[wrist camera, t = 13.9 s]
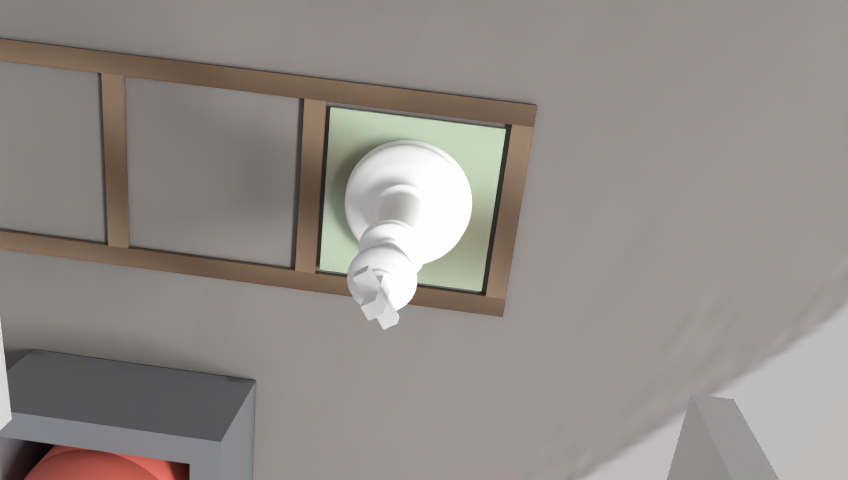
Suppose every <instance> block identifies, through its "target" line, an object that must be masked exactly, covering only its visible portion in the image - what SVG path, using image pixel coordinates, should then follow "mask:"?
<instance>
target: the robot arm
mask: <svg viewBox="0 0 848 480" xmlns="http://www.w3.org/2000/svg"><path fill="white" fill-rule="evenodd" d="M11 420H12V417H11V408H10V399H9V391H8V382H7V373H6V365H5V356H4V347H3V339H2V330H1V321H0V430H1V429H2V428H3V427H4V426H5V425H6V424H7V423H8V422H10V421H11ZM667 480H779V479H778V477H777V475H776V473H775V472H774V470H773V468H772V466H771V465H770V463H769V461H768V460H767V458H766V456H765V454H764V452H763V451H762V449H761V447H760V445H759V443H758V442H757V440H756V438H755V436H754V435H753V433H752V431H751V429H750V428H749V426H748V424H747V422H746V421H745V419H744V417H743V415H742V413H741V412H740V410H739V408H738V406H737V405H736V403H735V401H734V400H733V399H726V398H719V397H712V396H705V395H697V394H691V397H690V401H689V404H688V408H687V411H686V415H685V418H684V422H683V426H682V429H681V432H680V436H679V440H678V443H677V446H676V450H675V454H674V457H673V460H672V464H671V468H670V471H669V475H668V478H667Z"/></svg>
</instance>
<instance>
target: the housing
mask: <svg viewBox="0 0 848 480" xmlns="http://www.w3.org/2000/svg"><path fill="white" fill-rule="evenodd" d="M6 373H7V382H8V391H9V399H10V408H11V417H12V420H11V421H10V422H8V423H7V424H6V425H5V426H4V427H3V428H2V429H1V430H0V480H24V479H25V478H26V476H27V475H28V474H29V472H30V471H31V470H32V469H33V468H34V467H35V466H36V465H37V463H38V462H39V461H40V460H41V459H42V458H43V457H44V456H45V455H46V454H47V453H48V452H49V451H50V449H51V448H52V447H53V446H54V445H55V444H56V445H63V446H70V447H77V448H83V449H90V450H97V451H104V452H111V453H118V454H125V455H132V456H139V457H146V458H153V459H159V460H166V461H173V462H180V463H187V464H190V480H252V477H253V450H254V423H255V395H256V381H255V380H248V379H241V378H234V377H227V376H219V375H212V374H205V373H198V372H191V371H184V370H177V369H169V368H162V367H155V366H148V365H141V364H134V363H127V362H119V361H112V360H105V359H98V358H91V357H84V356H77V355H70V354H62V353H55V352H48V351H41V350H34V349H33V350H32V351H31V352H29V353H28V354H27V355H26V356H24V357H23V358H22V359H21V360H20V361H18V362H17V363H16V364H15V365H13V366H12V367H11V368H10V369H8V370H7V371H6Z"/></svg>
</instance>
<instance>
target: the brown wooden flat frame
mask: <svg viewBox="0 0 848 480" xmlns="http://www.w3.org/2000/svg"><path fill="white" fill-rule="evenodd" d="M0 61H8V62H16V63H24V64H32V65H40V66H48V67H56V68H64V69H72V70H80V71H88V72H96V73H101V80H102V105H103V129H104V154H105V179H106V204H107V229H108V244H106V243H99V242H91V241H84V240H76V239H69V238H61V237H54V236H46V235H39V234H31V233H24V232H17V231H9V230H2V229H0V249H4V250H11V251H18V252H26V253H33V254H41V255H48V256H55V257H63V258H70V259H78V260H85V261H92V262H100V263H107V264H115V265H122V266H129V267H137V268H144V269H152V270H159V271H166V272H174V273H181V274H189V275H196V276H203V277H211V278H218V279H226V280H233V281H240V282H248V283H255V284H263V285H270V286H277V287H285V288H292V289H300V290H307V291H314V292H322V293H329V294H337V295H344V296H351V297H353V296H352V295H351V293H350V291H349V288H348V284H347V276H345V275H337V274H330V273H322V272H316V258H317V242H318V227H319V212H320V196H321V181H322V165H323V150H324V135H325V119H326V104H327V102H335V103H343V104H351V105H359V106H367V107H375V108H383V109H391V110H399V111H407V112H415V113H423V114H431V115H439V116H447V117H455V118H463V119H471V120H479V121H487V122H495V123H503V124H511V125H512V127H511V133H510V140H509V146H508V153H507V159H506V166H505V172H504V179H503V185H502V192H501V198H500V205H499V211H498V218H497V224H496V231H495V237H494V244H493V250H492V257H491V263H490V270H489V276H488V283H487V289H486V294H479V293H471V292H464V291H457V290H449V289H442V288H434V287H427V286H419V285H417V287H416V291H415V293H414V295H413V297H412V299H411V300H410V301H409V302H408V303H407V304H411V305H418V306H425V307H433V308H440V309H448V310H455V311H462V312H470V313H477V314H485V315H492V316H499V317H503V311H504V305H505V299H506V293H507V287H508V281H509V275H510V269H511V262H512V256H513V250H514V244H515V238H516V232H517V226H518V220H519V214H520V208H521V202H522V195H523V189H524V183H525V177H526V171H527V165H528V159H529V153H530V147H531V141H532V135H533V128H534V122H535V116H536V110H537V105H533V104H525V103H517V102H509V101H501V100H493V99H485V98H477V97H469V96H461V95H453V94H445V93H437V92H429V91H420V90H412V89H404V88H396V87H388V86H380V85H372V84H364V83H356V82H348V81H340V80H332V79H324V78H316V77H308V76H300V75H292V74H284V73H276V72H268V71H259V70H251V69H243V68H235V67H227V66H219V65H211V64H203V63H195V62H187V61H179V60H171V59H163V58H155V57H147V56H139V55H131V54H123V53H115V52H107V51H98V50H90V49H82V48H74V47H66V46H58V45H50V44H42V43H34V42H26V41H18V40H10V39H2V38H0ZM124 76H128V77H136V78H144V79H152V80H160V81H168V82H176V83H184V84H192V85H200V86H207V87H215V88H223V89H231V90H239V91H247V92H255V93H263V94H271V95H279V96H287V97H295V98H303V99H304V118H303V136H302V154H301V173H300V191H299V209H298V228H297V246H296V264H295V269H293V268H285V267H278V266H270V265H263V264H255V263H248V262H240V261H233V260H225V259H218V258H210V257H203V256H196V255H188V254H181V253H173V252H166V251H158V250H151V249H143V248H136V247H129V215H128V181H127V147H126V113H125V79H124ZM505 132H506V128H499V127H491V126H483V125H475V124H467V123H459V122H451V121H443V120H435V119H427V118H420V117H412V116H404V115H396V114H388V113H380V112H372V111H364V110H356V109H348V108H340V107H331V108H330V123H329V138H328V153H327V168H326V183H325V198H324V212H323V227H322V242H321V257H320V270H327V271H334V272H342V273H348V269H349V266H350V264H351V262H352V261H353V259H354V258H355V257H356V256H357V255H358V245H359V242H358V240H357V239H356V238H355V236H354V235H353V233H352V231H351V229H350V227H349V224H348V221H347V218H346V213H345V193H346V187H347V183H348V180H349V177H350V175H351V173H352V171H353V169H354V168H355V166H356V165H357V163H358V162H359V161H360V160H361V159H362V158H363V157H364V156H365V155H366V154H367V153H368V152H370V151H371V150H373V149H374V148H376V147H378V146H380V145H383V144H385V143H388V142H392V141H397V140H417V141H422V142H426V143H429V144H431V145H434V146H436V147H438V148H440V149H441V150H443V151H445V152H446V153H447V154H449V155H450V156H451V157H452V158H453V159H454V160H455V161H456V162H457V163H458V165H459V166H460V167H461V169H462V170H463V172H464V173H465V175H466V177H467V180H468V182H469V185H470V189H471V194H472V211H471V217H470V220H469V223H468V226H467V228H466V230H465V232H464V233H463V235H462V237H461V238H460V240H459V241H458V243H457V244H456V245H455V246H454V247H453V248H452V249H451V250H450V251H449V252H448V253H446V254H445V255H443V256H442V257H440V258H438V259H436V260H434V261H432V262H429V263H425V264H423V265H422V267H421V269H420V270H419V271H418V273H417V283H424V284H431V285H439V286H446V287H454V288H461V289H469V290H476V291H482V284H483V278H484V271H485V265H486V258H487V251H488V245H489V238H490V232H491V225H492V218H493V212H494V205H495V198H496V192H497V185H498V179H499V172H500V165H501V159H502V152H503V146H504V139H505Z"/></svg>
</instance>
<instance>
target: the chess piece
mask: <svg viewBox="0 0 848 480" xmlns="http://www.w3.org/2000/svg"><path fill="white" fill-rule="evenodd" d="M471 211H472V194H471V189H470V185H469V182H468V180H467V177H466V175H465V173H464V172H463V170H462V169H461V167H460V166H459V165H458V163H457V162H456V161H455V160H454V159H453V158H452V157H451V156H450V155H449V154H447V153H446V152H445V151H443V150H441V149H440V148H438V147H436V146H434V145H431V144H429V143H426V142H422V141H417V140H397V141H392V142H388V143H385V144H383V145H380V146H378V147H376V148H374V149H373V150H371V151H370V152H368V153H367V154H366V155H365V156H364V157H363V158H362V159H361V160H360V161H359V162H358V163H357V165H356V166H355V168H354V169H353V171H352V173H351V175H350V177H349V180H348V183H347V187H346V193H345V213H346V218H347V221H348V224H349V227H350V229H351V231H352V233H353V235H354V236H355V238H356V239H357V240H358V242H359V245H358V255H357V256H356V257H355V258H354V259H353V261H352V262H351V264H350V266H349V269H348V273H347V284H348V288H349V291H350V293H351V295H352V296H353V298H354V299H355V300H356V301H357V302H358V303H359V304H360V305H361V309H362V310H363V312H364V314H365V315H366V317H367V319H368V320H369V321H370V320H372V319H374V318H377V319H378V321H379V323H380V324H381V326H382V328H383V329H386V328H388V327H390V326H393V325H395V324H397V323H398V320H399V315H398V313H397V311H396V310H398V309H400V308H402V307H404V306H405V305H406V304H407V303H408V302H409V301H410V300H411V299H412V297H413V295H414V293H415V291H416V287H417V273H418V271H419V270H420V269H421V267H422V265H423V264H425V263H429V262H432V261H434V260H436V259H438V258H440V257H442V256H443V255H445V254H446V253H448V252H449V251H450V250H451V249H452V248H453V247H454V246H455V245H456V244H457V243H458V241H459V240H460V238H461V237H462V235H463V233H464V232H465V230H466V228H467V226H468V223H469V220H470V217H471Z"/></svg>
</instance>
